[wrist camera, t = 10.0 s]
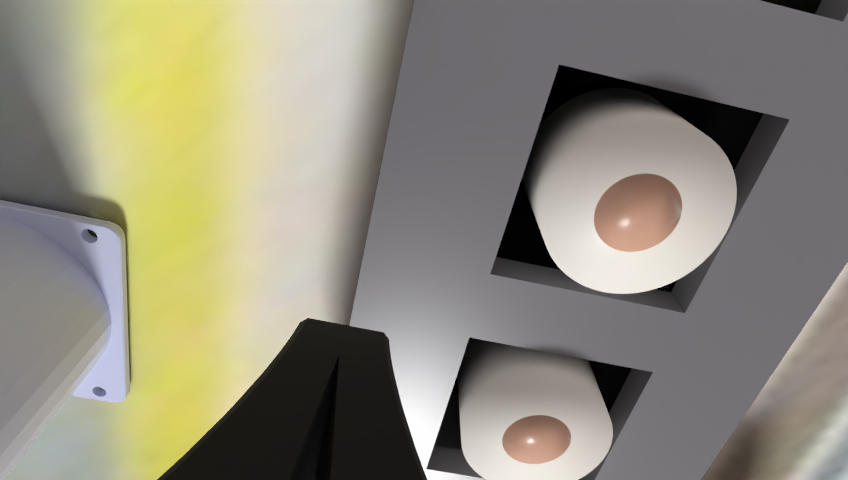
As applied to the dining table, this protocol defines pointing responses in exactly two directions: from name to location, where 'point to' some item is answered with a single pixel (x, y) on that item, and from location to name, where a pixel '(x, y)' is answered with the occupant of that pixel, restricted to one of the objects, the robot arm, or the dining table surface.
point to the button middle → (627, 191)
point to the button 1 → (530, 414)
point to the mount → (551, 288)
